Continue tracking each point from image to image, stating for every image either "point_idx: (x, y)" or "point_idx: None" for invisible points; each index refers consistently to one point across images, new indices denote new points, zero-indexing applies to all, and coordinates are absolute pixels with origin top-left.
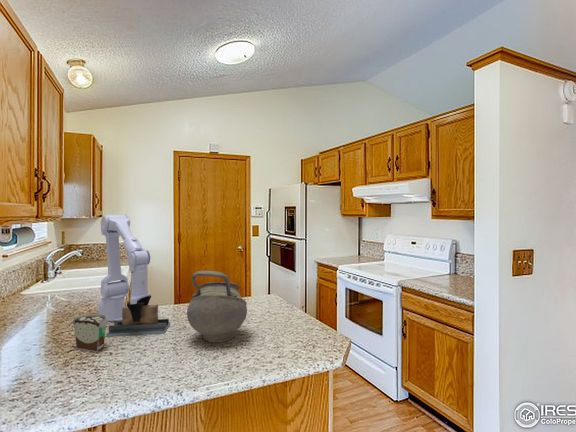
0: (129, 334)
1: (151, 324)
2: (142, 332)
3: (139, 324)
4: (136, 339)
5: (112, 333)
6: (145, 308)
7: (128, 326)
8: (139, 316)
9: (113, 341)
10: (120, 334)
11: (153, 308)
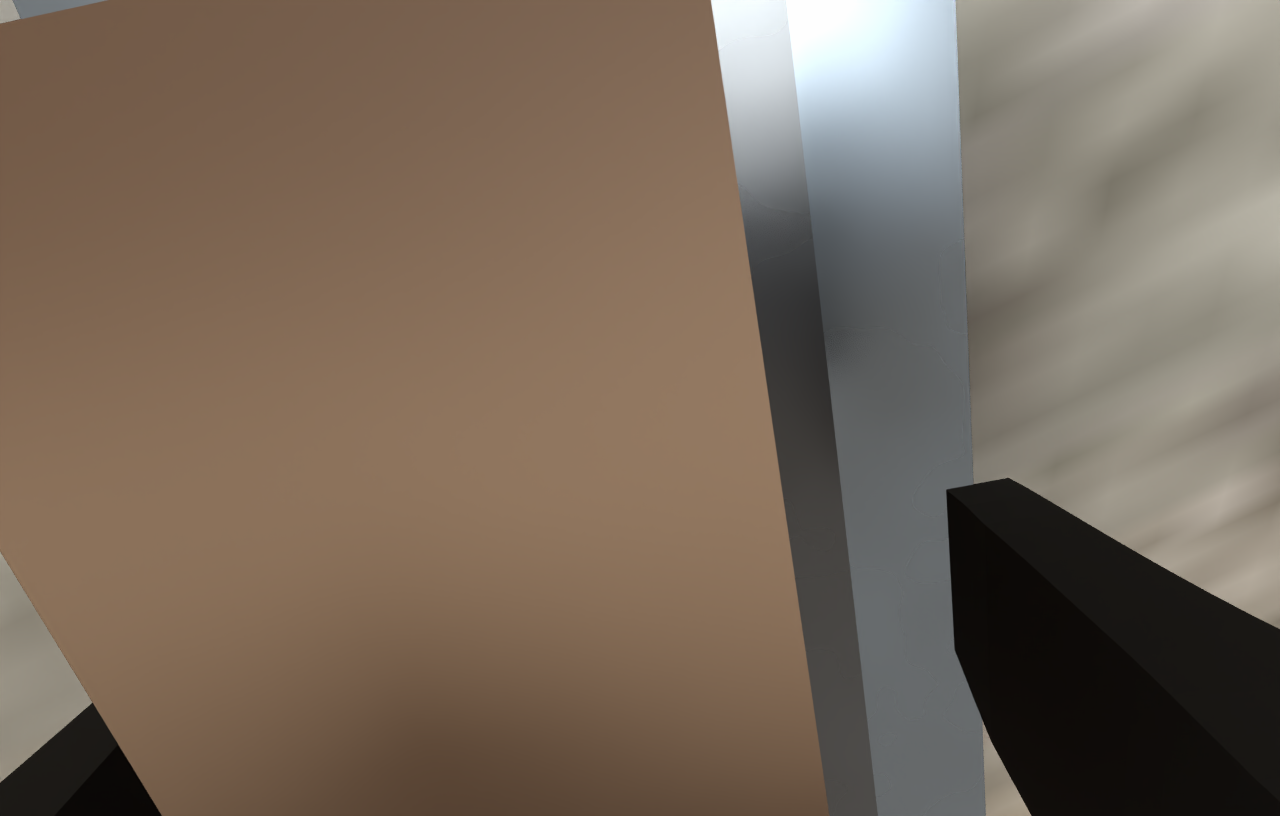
0: None
1: (788, 49)
2: (955, 214)
3: (811, 458)
4: (1267, 183)
5: (978, 801)
6: (810, 716)
7: (857, 677)
8: (1149, 574)
9: (1258, 606)
10: None
11: (716, 138)
